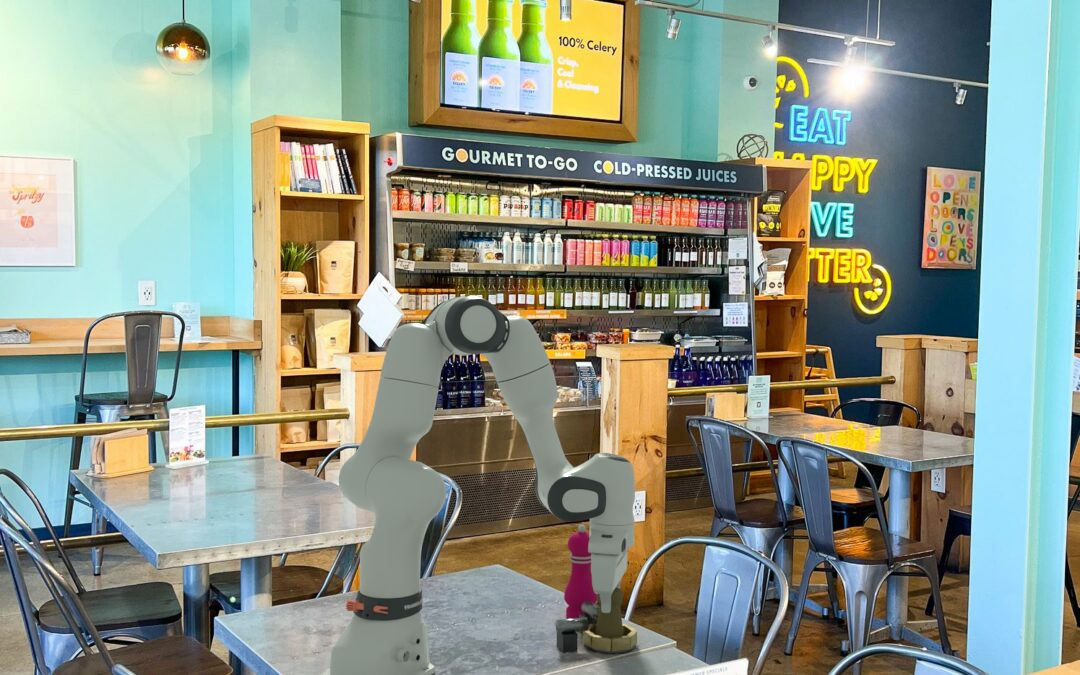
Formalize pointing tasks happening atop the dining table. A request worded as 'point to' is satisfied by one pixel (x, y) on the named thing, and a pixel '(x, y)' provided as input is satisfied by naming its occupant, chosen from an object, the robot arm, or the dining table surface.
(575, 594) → the pepper mill
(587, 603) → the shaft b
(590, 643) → the coupling collar
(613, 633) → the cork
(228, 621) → the dining table surface
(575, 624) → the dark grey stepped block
